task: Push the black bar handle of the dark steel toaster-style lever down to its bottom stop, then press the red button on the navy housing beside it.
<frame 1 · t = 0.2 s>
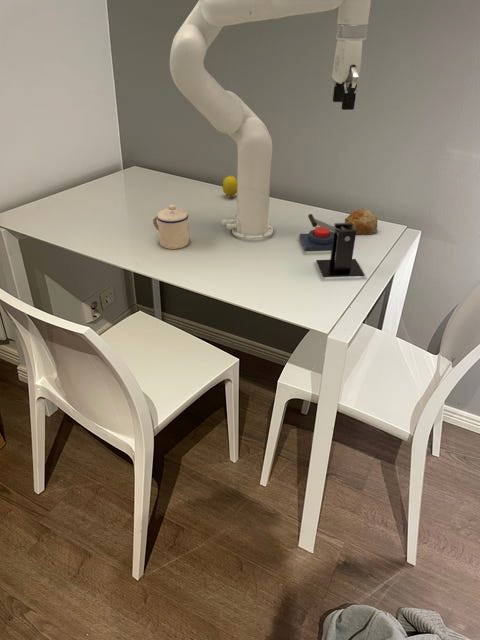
hand: (342, 105, 134), 37 cm above the table, tool pointing down, fingers open, 9 cm apart
button housing: (320, 246, 146), on the table
teacup with lid: (170, 242, 148), on the table
bread roll: (359, 230, 156), on the table
lever: (330, 227, 126), point 13 cm above the table, hinge at 24.0°
lever bracket: (339, 271, 133), on the table
lemon: (230, 197, 178), on the table
button: (321, 232, 143), point 4 cm above the table, slide at 0.1 cm
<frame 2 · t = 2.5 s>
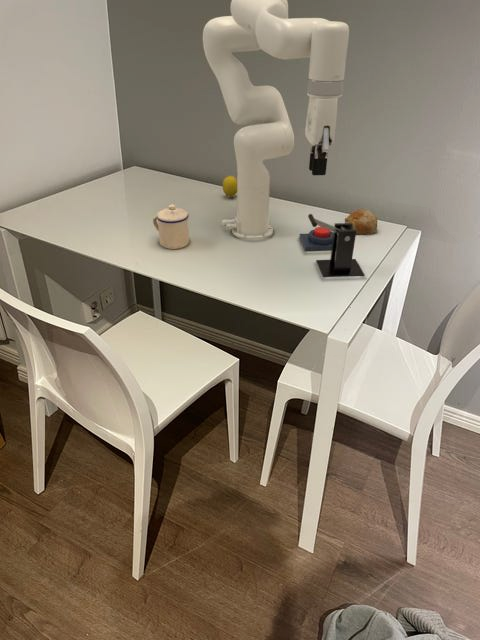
hand: (317, 171, 117), 27 cm above the table, tool pointing down, fingers closed
nothing on the table moved.
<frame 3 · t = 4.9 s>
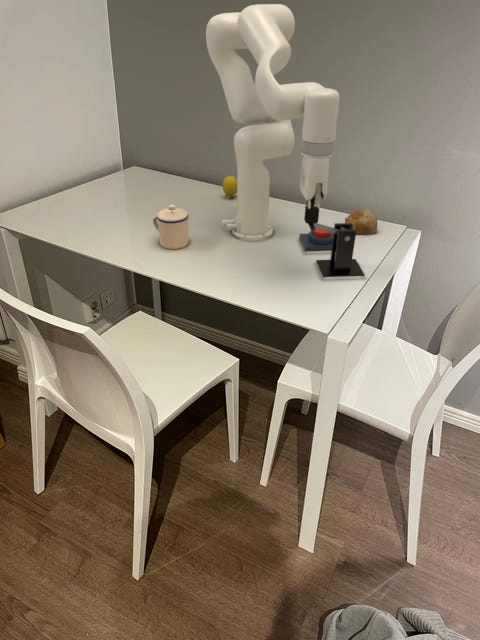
hand: (311, 221, 124), 15 cm above the table, tool pointing down, fingers closed
lever: (329, 229, 126), point 12 cm above the table, hinge at 17.6°, touching gripper
everything else where it was.
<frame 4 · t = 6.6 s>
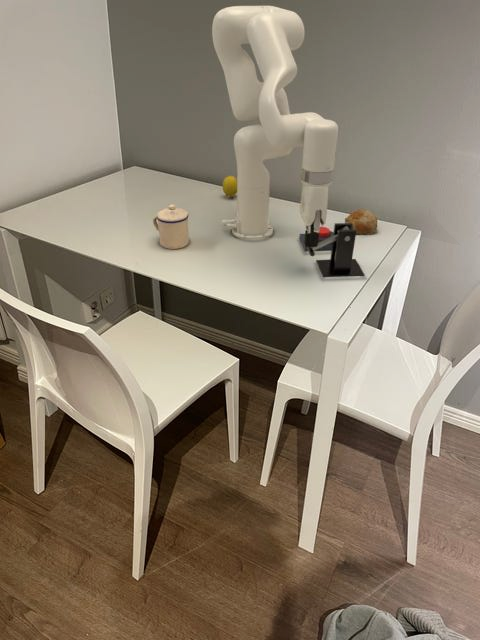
hand: (310, 245, 128), 8 cm above the table, tool pointing down, fingers closed
lever: (328, 240, 128), point 9 cm above the table, hinge at -26.5°, touching gripper
everything else where it was.
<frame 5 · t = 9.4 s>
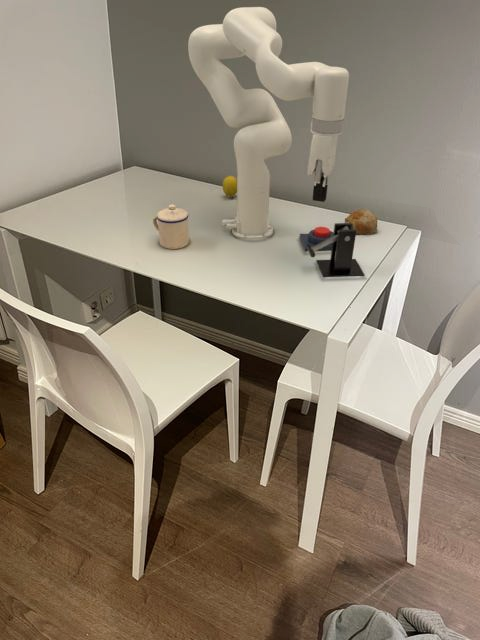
hand: (319, 199, 127), 18 cm above the table, tool pointing down, fingers closed
lever: (328, 241, 128), point 9 cm above the table, hinge at -28.7°
everything else where it was.
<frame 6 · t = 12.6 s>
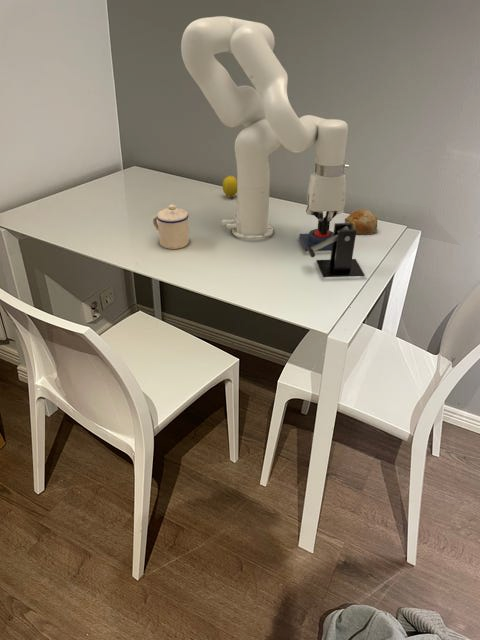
hand: (323, 232, 143), 5 cm above the table, tool pointing down, fingers closed
button: (321, 235, 143), point 4 cm above the table, slide at -0.8 cm, touching gripper
everything else where it was.
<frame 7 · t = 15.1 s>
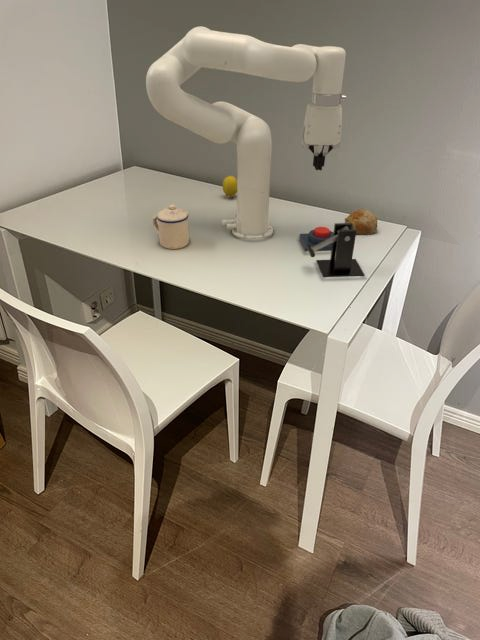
hand: (318, 168, 141), 20 cm above the table, tool pointing down, fingers closed
button: (321, 232, 143), point 4 cm above the table, slide at 0.1 cm
everything else where it was.
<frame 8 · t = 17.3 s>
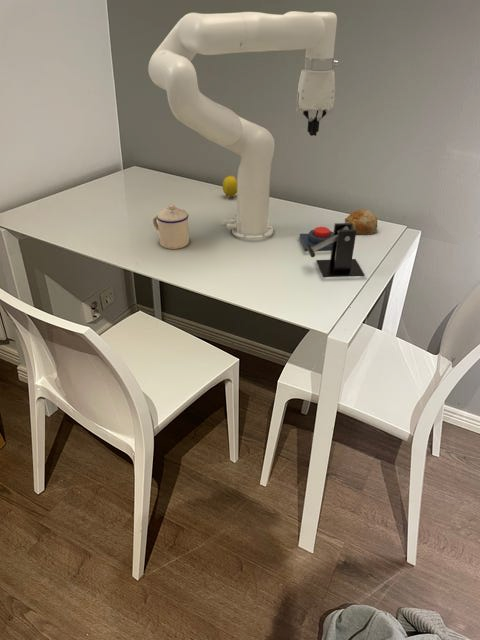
hand: (312, 134, 146), 27 cm above the table, tool pointing down, fingers closed
nothing on the table moved.
at the end: lever at -29° (first picture: +24°); button pushed in 1.0 cm at the most during the clip, back to where it started at the end; button slide at 0.1 cm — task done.
